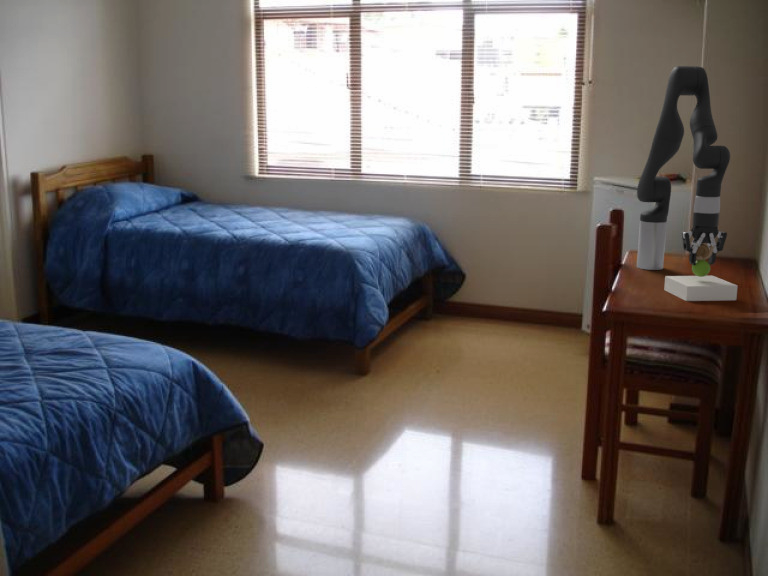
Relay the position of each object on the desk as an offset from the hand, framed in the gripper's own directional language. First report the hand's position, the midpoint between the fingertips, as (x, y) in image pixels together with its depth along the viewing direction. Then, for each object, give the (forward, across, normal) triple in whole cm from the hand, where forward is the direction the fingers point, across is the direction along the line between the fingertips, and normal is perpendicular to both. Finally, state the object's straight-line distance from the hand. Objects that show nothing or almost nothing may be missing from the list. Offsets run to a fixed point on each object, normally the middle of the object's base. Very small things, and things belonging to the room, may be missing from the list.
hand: (701, 264), depth 256 cm
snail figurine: (+4, 0, 0) cm, 4 cm away
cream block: (+10, 0, 0) cm, 10 cm away
